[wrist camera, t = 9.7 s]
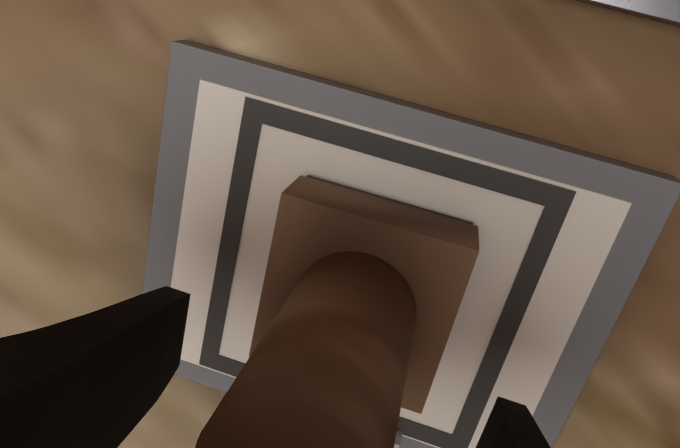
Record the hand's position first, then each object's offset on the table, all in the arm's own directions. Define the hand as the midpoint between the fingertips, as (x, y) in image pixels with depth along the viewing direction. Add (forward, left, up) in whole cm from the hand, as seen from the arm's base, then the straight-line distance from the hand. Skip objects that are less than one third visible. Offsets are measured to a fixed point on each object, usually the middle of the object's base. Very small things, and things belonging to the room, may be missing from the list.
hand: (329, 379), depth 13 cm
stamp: (0, 0, -5) cm, 5 cm away
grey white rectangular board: (0, 0, -6) cm, 6 cm away
